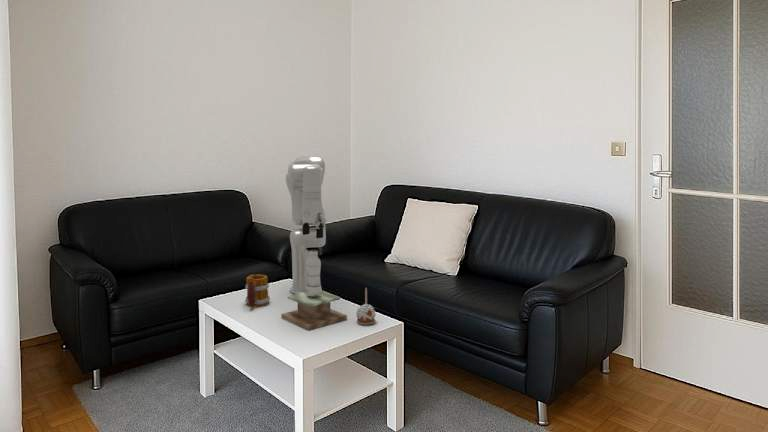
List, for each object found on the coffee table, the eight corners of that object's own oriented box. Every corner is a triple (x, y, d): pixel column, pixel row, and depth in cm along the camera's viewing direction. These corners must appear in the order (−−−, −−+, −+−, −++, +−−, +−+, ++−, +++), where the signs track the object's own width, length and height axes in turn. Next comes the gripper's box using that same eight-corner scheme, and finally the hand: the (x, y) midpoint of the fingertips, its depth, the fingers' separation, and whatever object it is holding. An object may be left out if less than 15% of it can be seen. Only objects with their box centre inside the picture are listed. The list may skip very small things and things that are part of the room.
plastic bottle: (319, 299, 253) (318, 252, 249) (303, 298, 254) (303, 252, 251) (323, 294, 259) (323, 249, 256) (308, 294, 260) (308, 248, 257)
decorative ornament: (368, 327, 249) (368, 292, 246) (353, 323, 253) (353, 289, 250) (378, 321, 255) (378, 287, 253) (363, 318, 259) (363, 284, 257)
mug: (272, 300, 284) (271, 269, 281) (262, 311, 268) (261, 279, 265) (250, 299, 285) (249, 268, 282) (238, 310, 269) (237, 278, 266)
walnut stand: (319, 308, 272) (319, 287, 270) (346, 319, 257) (346, 297, 256) (281, 318, 259) (280, 295, 257) (308, 330, 244) (307, 306, 242)
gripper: (292, 194, 253) (293, 234, 256) (317, 198, 241) (317, 240, 243) (307, 193, 258) (308, 232, 261) (332, 197, 246) (332, 238, 248)
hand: (312, 236), depth 252 cm, fingers open, 9 cm apart
